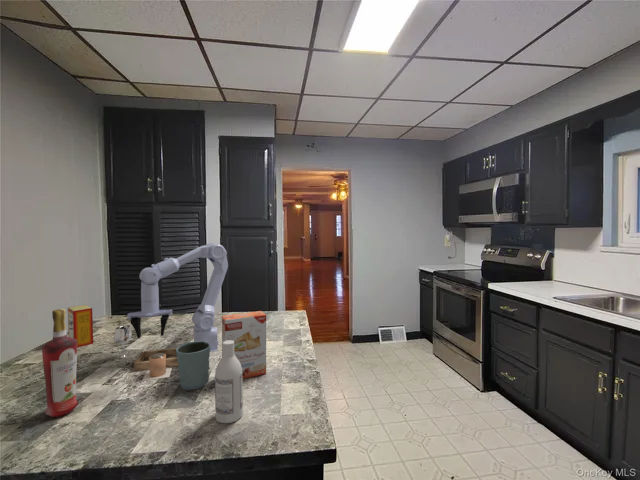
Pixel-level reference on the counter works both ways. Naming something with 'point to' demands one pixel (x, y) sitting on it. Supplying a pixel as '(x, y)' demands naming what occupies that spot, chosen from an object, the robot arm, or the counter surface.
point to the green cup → (193, 364)
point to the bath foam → (228, 386)
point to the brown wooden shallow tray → (143, 358)
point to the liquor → (60, 368)
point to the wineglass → (122, 336)
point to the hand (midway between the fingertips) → (150, 336)
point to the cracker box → (247, 340)
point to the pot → (157, 365)
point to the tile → (147, 377)
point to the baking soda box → (80, 324)
